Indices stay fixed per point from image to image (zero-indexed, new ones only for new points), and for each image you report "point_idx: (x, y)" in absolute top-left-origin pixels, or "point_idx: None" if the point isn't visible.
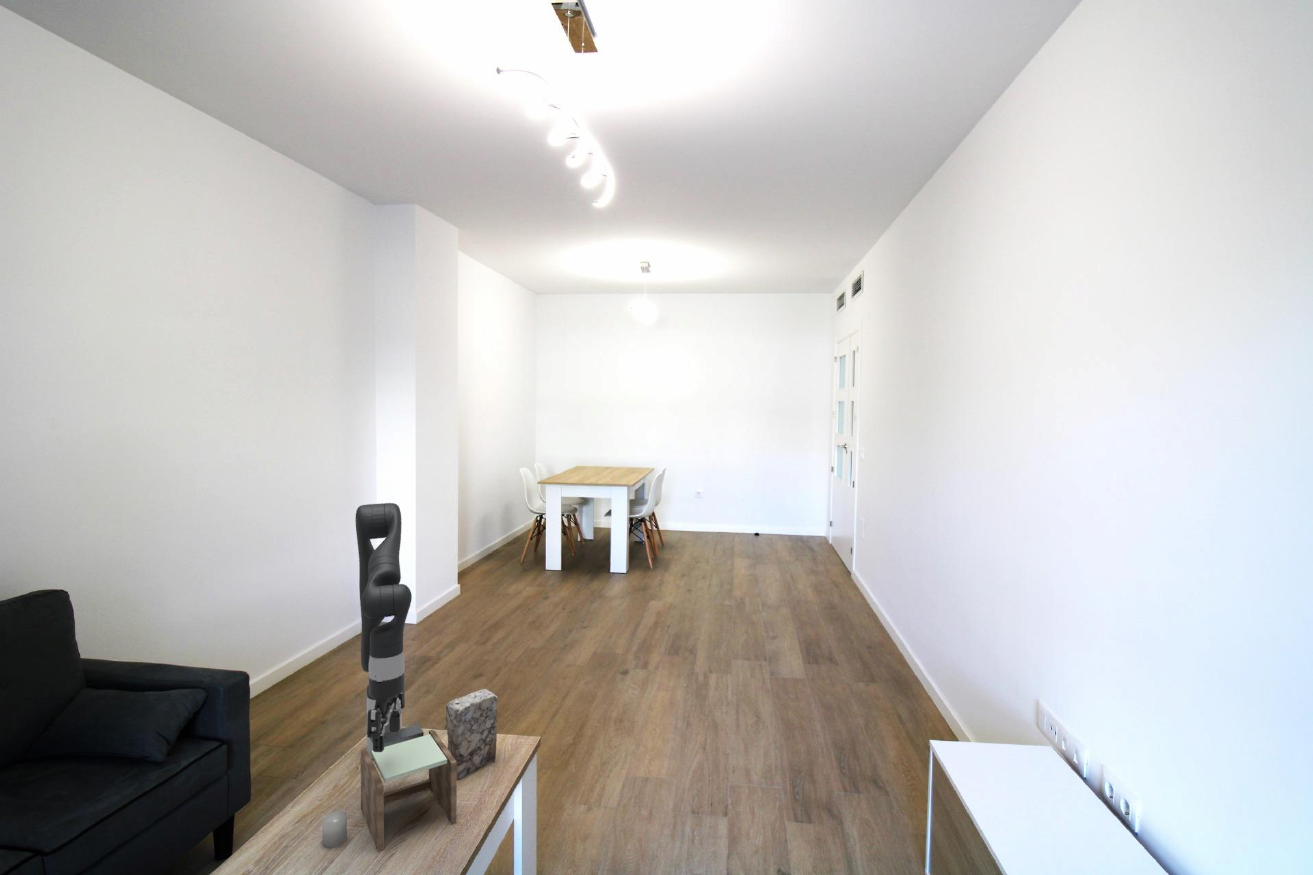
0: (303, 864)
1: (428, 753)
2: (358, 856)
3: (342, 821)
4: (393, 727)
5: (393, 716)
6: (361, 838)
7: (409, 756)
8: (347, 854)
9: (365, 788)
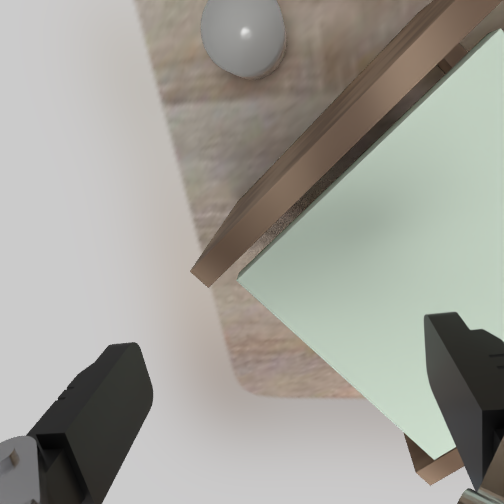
0: (144, 22)
1: None
2: (210, 160)
3: (233, 72)
4: (437, 362)
5: (484, 452)
6: (277, 120)
7: (445, 294)
8: (209, 125)
9: (377, 64)
